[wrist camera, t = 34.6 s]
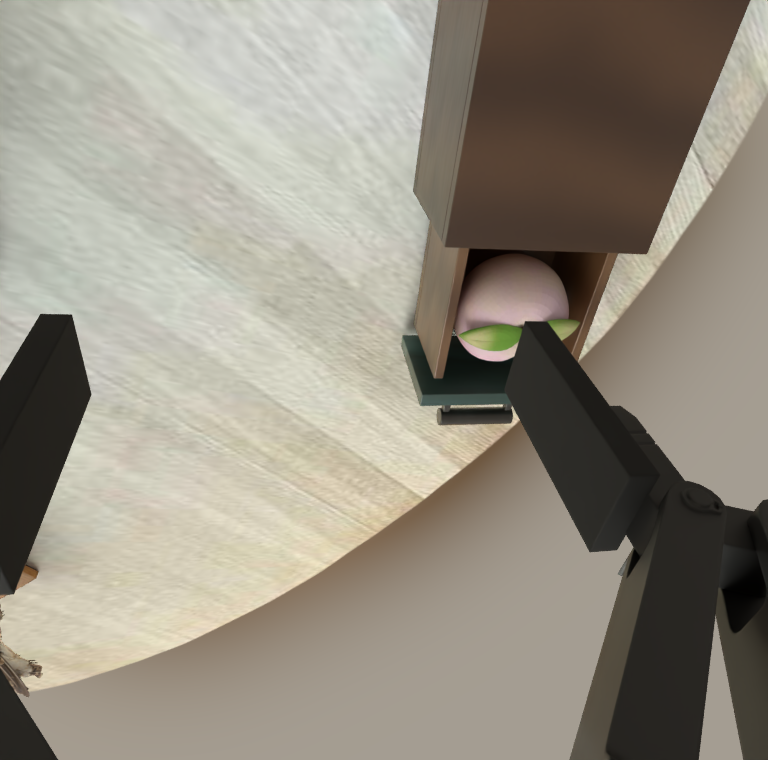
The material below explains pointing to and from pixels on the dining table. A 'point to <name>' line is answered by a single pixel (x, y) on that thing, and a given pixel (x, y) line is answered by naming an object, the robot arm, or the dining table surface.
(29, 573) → the stuffed bird
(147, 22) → the dining table surface
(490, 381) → the drawer
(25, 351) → the robot arm
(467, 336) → the decorative fruit
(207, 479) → the dining table surface
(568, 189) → the cabinet
